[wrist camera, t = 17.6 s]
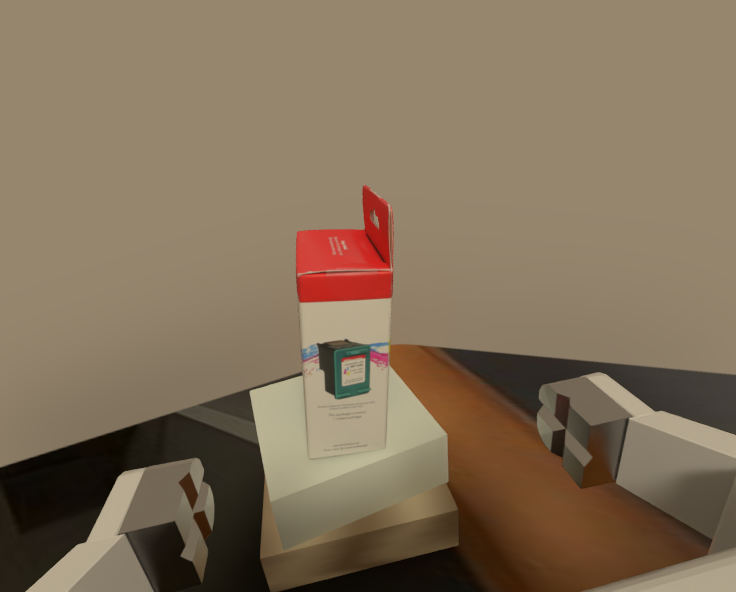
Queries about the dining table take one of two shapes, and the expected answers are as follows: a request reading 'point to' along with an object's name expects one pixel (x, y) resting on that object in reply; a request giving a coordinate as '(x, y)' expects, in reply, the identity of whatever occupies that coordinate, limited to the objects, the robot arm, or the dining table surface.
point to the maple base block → (361, 540)
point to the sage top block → (343, 462)
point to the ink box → (346, 331)
